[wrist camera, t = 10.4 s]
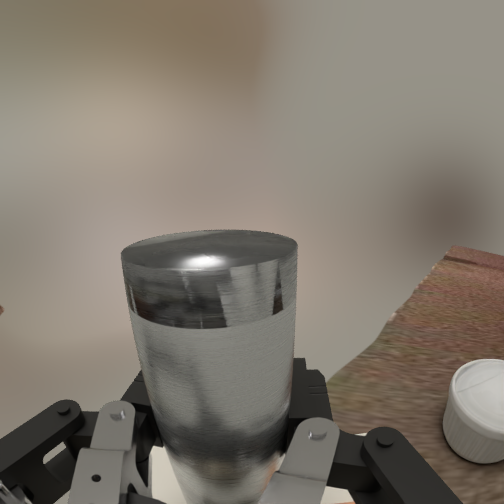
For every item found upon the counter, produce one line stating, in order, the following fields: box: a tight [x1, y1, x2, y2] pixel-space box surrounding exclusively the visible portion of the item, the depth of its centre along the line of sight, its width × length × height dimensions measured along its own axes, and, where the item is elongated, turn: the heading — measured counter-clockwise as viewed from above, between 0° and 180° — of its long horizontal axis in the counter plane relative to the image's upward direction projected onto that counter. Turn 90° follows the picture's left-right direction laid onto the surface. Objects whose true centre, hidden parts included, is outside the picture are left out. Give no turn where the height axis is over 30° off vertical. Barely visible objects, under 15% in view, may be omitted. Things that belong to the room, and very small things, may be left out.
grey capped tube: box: [121, 230, 298, 504], centre depth 9 cm, size 4×4×14 cm
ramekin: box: [443, 359, 504, 463], centre depth 17 cm, size 11×11×5 cm
